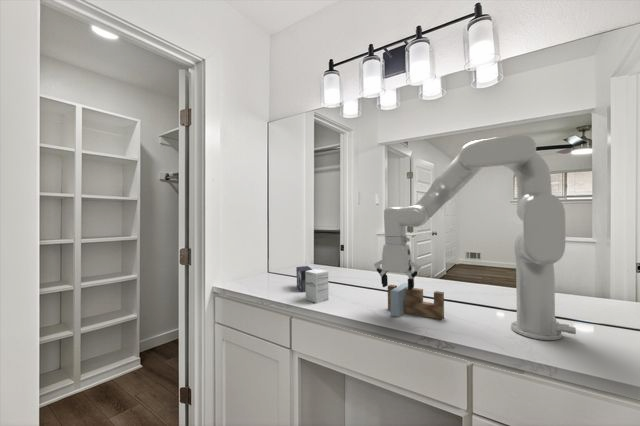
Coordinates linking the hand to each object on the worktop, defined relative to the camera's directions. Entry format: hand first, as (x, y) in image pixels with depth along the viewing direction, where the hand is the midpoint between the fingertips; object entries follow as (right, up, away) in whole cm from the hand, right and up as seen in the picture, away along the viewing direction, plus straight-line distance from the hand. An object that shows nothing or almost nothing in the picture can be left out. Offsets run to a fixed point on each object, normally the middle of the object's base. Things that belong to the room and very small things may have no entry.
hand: (397, 287), depth 107 cm
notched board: (+7, -10, +2) cm, 12 cm away
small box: (-36, -11, +38) cm, 53 cm away
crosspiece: (+3, -10, +5) cm, 11 cm away
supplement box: (-29, -11, +20) cm, 37 cm away
